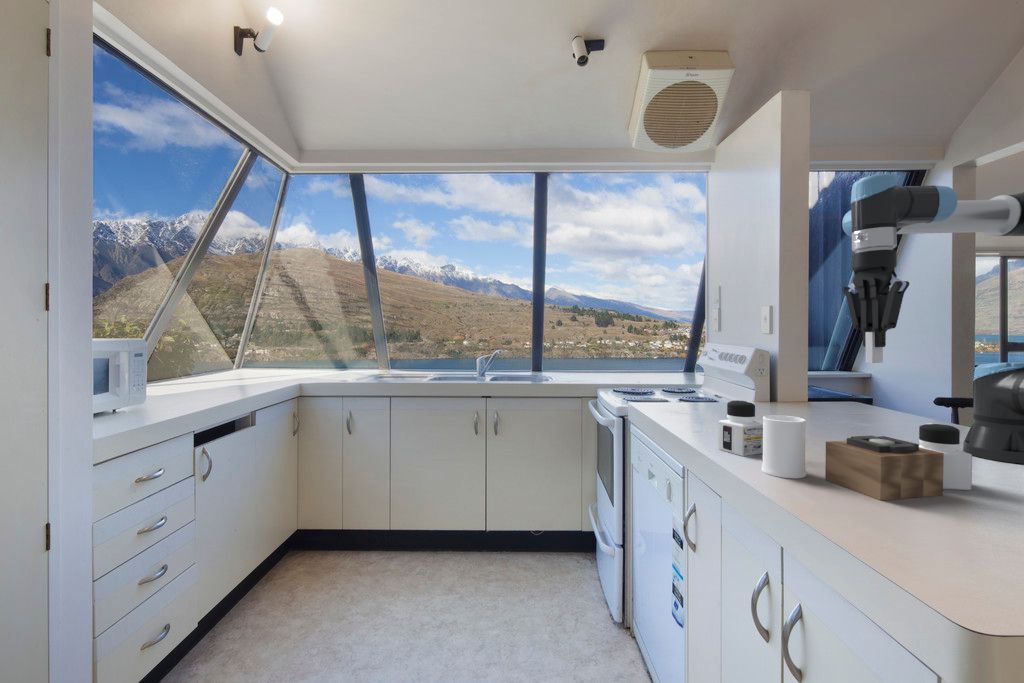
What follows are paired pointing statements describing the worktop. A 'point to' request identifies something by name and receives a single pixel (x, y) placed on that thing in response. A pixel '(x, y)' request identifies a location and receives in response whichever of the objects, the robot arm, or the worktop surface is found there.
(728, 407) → the container
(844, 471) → the socket block
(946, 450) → the medicine bottle
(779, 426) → the mug
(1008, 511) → the worktop surface
